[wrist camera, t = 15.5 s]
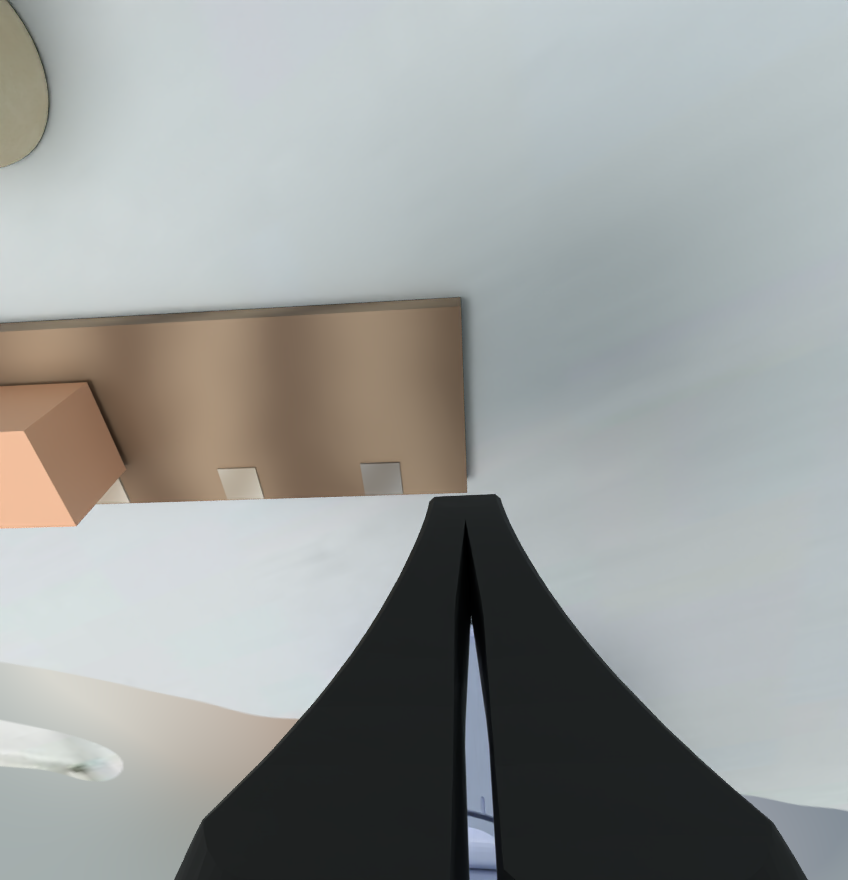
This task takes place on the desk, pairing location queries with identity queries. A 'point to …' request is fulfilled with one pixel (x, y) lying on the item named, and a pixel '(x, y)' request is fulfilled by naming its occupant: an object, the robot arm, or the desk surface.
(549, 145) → the desk surface
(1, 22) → the candle
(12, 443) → the peach colored cube
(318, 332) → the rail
